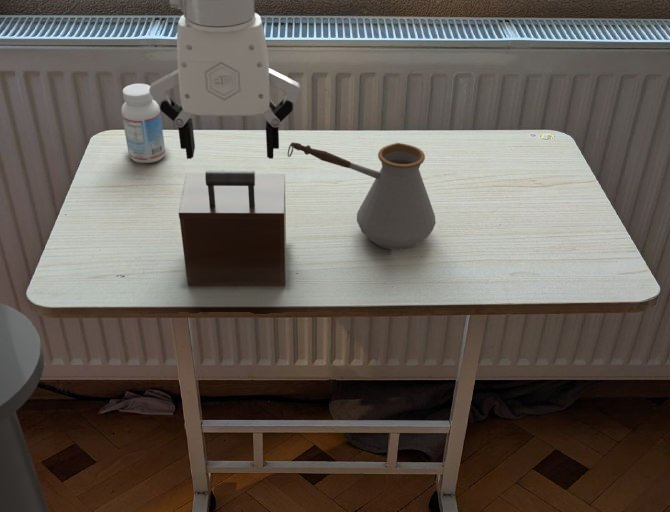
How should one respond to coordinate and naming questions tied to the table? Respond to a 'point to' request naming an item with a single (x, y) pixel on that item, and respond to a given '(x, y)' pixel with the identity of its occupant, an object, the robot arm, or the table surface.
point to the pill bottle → (142, 124)
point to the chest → (234, 251)
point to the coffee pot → (390, 196)
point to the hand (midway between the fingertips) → (230, 153)
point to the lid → (233, 195)
